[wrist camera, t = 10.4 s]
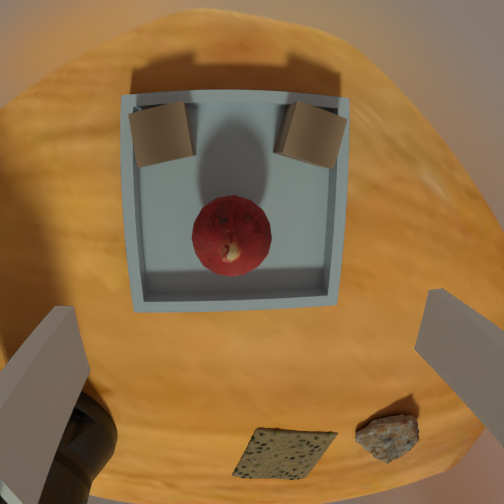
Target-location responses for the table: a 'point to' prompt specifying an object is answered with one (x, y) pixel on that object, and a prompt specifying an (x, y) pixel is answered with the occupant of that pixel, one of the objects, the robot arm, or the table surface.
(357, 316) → the table surface
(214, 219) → the onion
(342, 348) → the table surface
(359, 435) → the rock
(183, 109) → the walnut cube
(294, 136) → the walnut cube
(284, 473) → the speckled stone tile
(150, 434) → the table surface
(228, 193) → the dish
